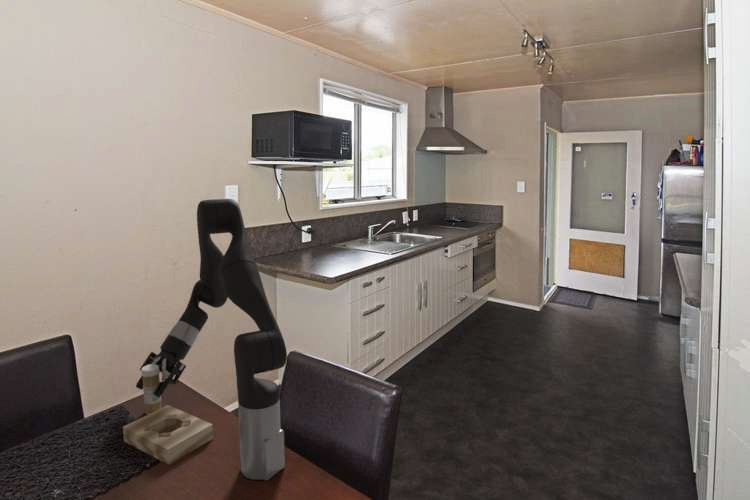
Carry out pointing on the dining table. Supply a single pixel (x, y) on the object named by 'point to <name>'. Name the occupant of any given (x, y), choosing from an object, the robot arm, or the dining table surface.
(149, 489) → the dining table surface
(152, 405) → the sprinkles bottle
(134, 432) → the spice caddy
